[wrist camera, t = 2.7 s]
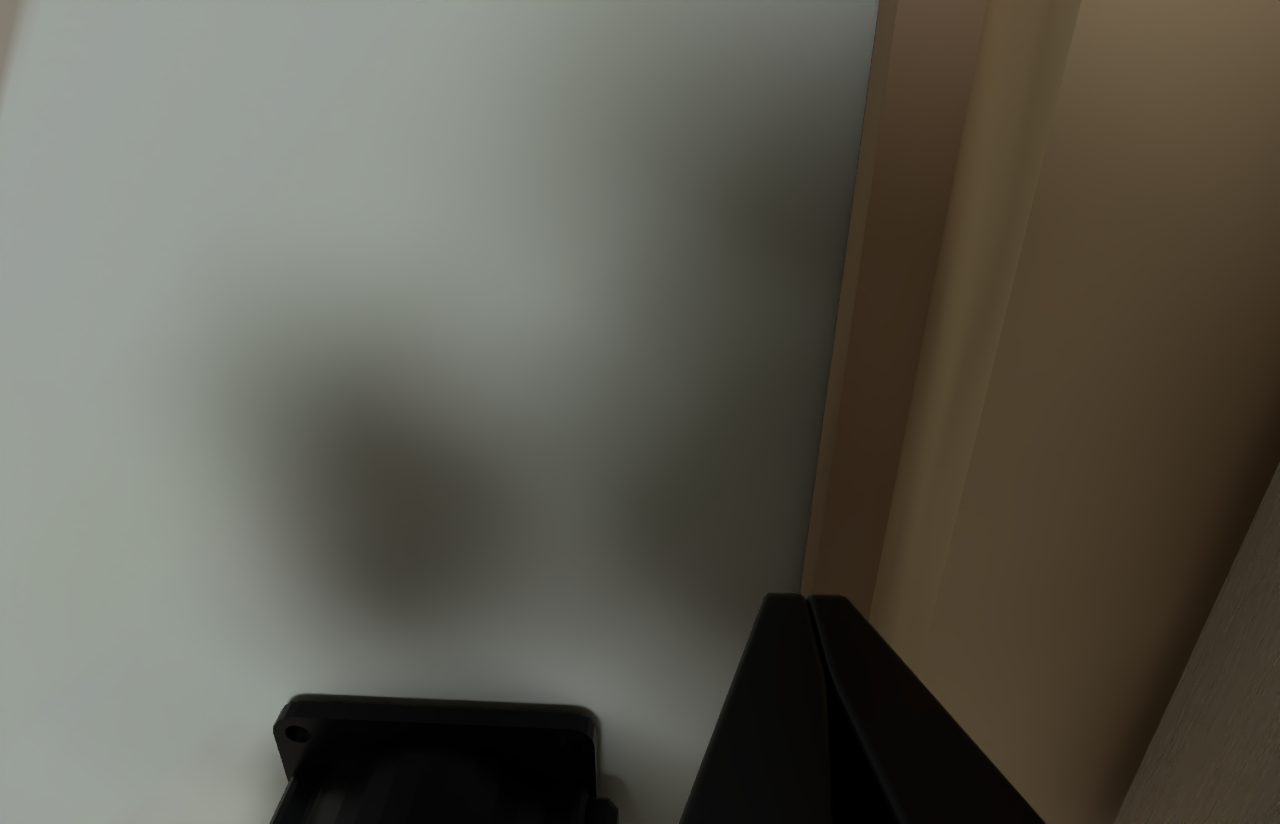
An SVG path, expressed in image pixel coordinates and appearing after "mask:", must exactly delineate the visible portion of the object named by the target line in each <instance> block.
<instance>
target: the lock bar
mask: <svg viewBox="0 0 1280 824" xmlns="http://www.w3.org/2000/svg"><path fill="white" fill-rule="evenodd" d="M1113 824H1280V463H1279V465H1278V467H1277V469H1276V471H1275V474H1274V476H1273V478H1272V480H1271V482H1270V484H1269V487H1268V489H1267V491H1266V493H1265V495H1264V497H1263V500H1262V502H1261V504H1260V506H1259V508H1258V510H1257V513H1256V515H1255V517H1254V519H1253V521H1252V523H1251V526H1250V528H1249V530H1248V532H1247V534H1246V537H1245V539H1244V541H1243V543H1242V545H1241V547H1240V550H1239V552H1238V554H1237V556H1236V558H1235V560H1234V563H1233V565H1232V567H1231V569H1230V571H1229V573H1228V576H1227V578H1226V580H1225V582H1224V584H1223V586H1222V589H1221V591H1220V593H1219V595H1218V597H1217V599H1216V602H1215V604H1214V606H1213V608H1212V610H1211V612H1210V615H1209V617H1208V619H1207V621H1206V623H1205V626H1204V628H1203V630H1202V632H1201V634H1200V636H1199V639H1198V641H1197V643H1196V645H1195V647H1194V649H1193V652H1192V654H1191V656H1190V658H1189V660H1188V662H1187V665H1186V667H1185V669H1184V671H1183V673H1182V675H1181V678H1180V680H1179V682H1178V684H1177V686H1176V688H1175V691H1174V693H1173V695H1172V697H1171V699H1170V702H1169V704H1168V706H1167V708H1166V710H1165V712H1164V715H1163V717H1162V719H1161V721H1160V723H1159V725H1158V728H1157V730H1156V732H1155V734H1154V736H1153V738H1152V741H1151V743H1150V745H1149V747H1148V749H1147V751H1146V754H1145V756H1144V758H1143V760H1142V762H1141V764H1140V767H1139V769H1138V771H1137V773H1136V775H1135V777H1134V780H1133V782H1132V784H1131V786H1130V788H1129V791H1128V793H1127V795H1126V797H1125V799H1124V801H1123V804H1122V806H1121V808H1120V810H1119V812H1118V814H1117V817H1116V819H1115V821H1114V823H1113Z"/></svg>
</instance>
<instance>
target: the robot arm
mask: <svg viewBox="0 0 1280 824" xmlns="http://www.w3.org/2000/svg"><path fill="white" fill-rule="evenodd" d="M273 734H274V737H275V740H276V743H277V746H278V750H279V753H280V756H281V759H282V763H283V766H284V769H285V772H286V776H287V779H288V782H289V783H288V785H287V787H286V789H285V791H284V794H283V796H282V798H281V800H280V802H279V804H278V807H277V809H276V811H275V813H274V815H273V817H272V820H271V822H270V824H618V808H617V807H616V806H615V804H614V803H613V802H612V801H611V799H610V798H600V797H599V796H598V759H597V730H596V727H595V724H594V723H593V722H592V721H591V720H590V719H589V718H587V717H585V716H583V715H581V714H576V713H568V712H544V711H521V710H498V709H474V708H451V707H427V706H404V705H381V704H357V703H334V702H311V701H297V702H291V703H289V704H287V705H285V706H284V708H283V709H282V711H281V713H280V714H279V716H278V718H277V720H276V722H275V724H274V726H273ZM569 737H570V738H569ZM679 824H1046V823H1045V822H1044V820H1043V819H1042V818H1041V817H1040V816H1039V815H1038V814H1037V813H1036V811H1035V810H1034V809H1033V808H1032V807H1031V806H1030V805H1029V803H1028V802H1027V801H1026V800H1025V799H1024V798H1023V797H1022V795H1021V794H1020V793H1019V792H1018V791H1017V790H1016V789H1015V787H1014V786H1013V785H1012V784H1011V783H1010V782H1009V781H1008V779H1007V778H1006V777H1005V776H1004V775H1003V774H1002V773H1001V772H1000V770H999V769H998V768H997V767H996V766H995V765H994V764H993V762H992V761H991V760H990V759H989V758H988V757H987V756H986V754H985V753H984V752H983V751H982V750H981V749H980V748H979V746H978V745H977V744H976V743H975V742H974V741H973V740H972V739H971V737H970V736H969V735H968V734H967V733H966V732H965V731H964V729H963V728H962V727H961V726H960V725H959V724H958V723H957V721H956V720H955V719H954V718H953V717H952V716H951V715H950V713H949V712H948V711H947V710H946V709H945V708H944V707H943V705H942V704H941V703H940V702H939V701H938V700H937V699H936V698H935V696H934V695H933V694H932V693H931V692H930V691H929V690H928V688H927V687H926V686H925V685H924V684H923V683H922V682H921V680H920V679H919V678H918V677H917V676H916V675H915V674H914V672H913V671H912V670H911V669H910V668H909V667H908V666H907V665H906V663H905V662H904V661H903V660H902V659H901V658H900V657H899V655H898V654H897V653H896V652H895V651H894V650H893V649H892V647H891V646H890V645H889V644H888V643H887V642H886V641H885V639H884V638H883V637H882V636H881V635H880V634H879V633H878V631H877V630H876V629H875V628H874V627H873V626H872V625H871V624H870V622H869V621H868V620H867V619H866V618H865V617H864V616H863V614H862V613H861V612H860V611H859V610H858V609H857V608H856V606H855V605H854V604H853V603H852V602H851V601H850V600H849V599H848V598H846V597H845V596H842V595H825V594H810V595H809V596H807V597H806V599H805V597H804V596H803V595H801V594H798V593H772V592H771V593H768V594H766V595H765V596H764V598H763V601H762V603H761V606H760V609H759V611H758V614H757V617H756V619H755V622H754V625H753V627H752V630H751V633H750V635H749V638H748V641H747V643H746V646H745V649H744V651H743V654H742V657H741V659H740V662H739V665H738V667H737V670H736V673H735V675H734V678H733V681H732V683H731V686H730V689H729V691H728V694H727V697H726V699H725V702H724V705H723V707H722V710H721V713H720V715H719V718H718V721H717V723H716V726H715V729H714V731H713V734H712V737H711V739H710V742H709V745H708V747H707V750H706V753H705V755H704V758H703V761H702V763H701V766H700V769H699V771H698V774H697V777H696V779H695V782H694V785H693V787H692V790H691V793H690V795H689V798H688V801H687V803H686V806H685V809H684V811H683V814H682V817H681V819H680V822H679Z"/></svg>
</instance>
